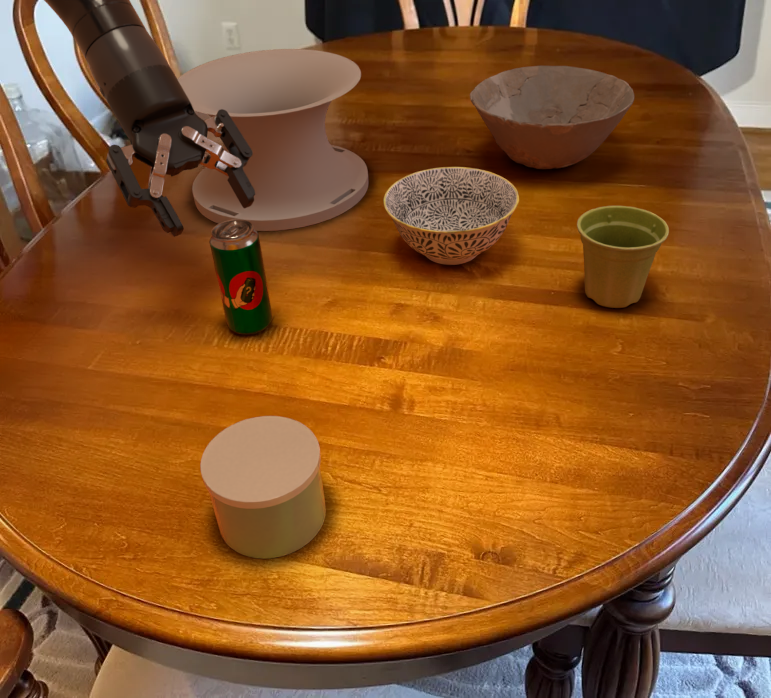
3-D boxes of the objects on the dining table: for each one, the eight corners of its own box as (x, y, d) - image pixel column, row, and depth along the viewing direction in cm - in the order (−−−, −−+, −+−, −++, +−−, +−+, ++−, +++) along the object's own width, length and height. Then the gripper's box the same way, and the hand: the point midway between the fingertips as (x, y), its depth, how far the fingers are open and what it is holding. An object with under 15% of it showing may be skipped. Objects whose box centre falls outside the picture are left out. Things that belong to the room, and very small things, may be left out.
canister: (222, 573, 63) (206, 514, 58) (210, 487, 70) (195, 430, 66) (339, 544, 64) (331, 484, 60) (316, 463, 72) (307, 405, 67)
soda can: (282, 317, 90) (267, 223, 82) (254, 342, 86) (236, 246, 79) (246, 306, 92) (228, 213, 84) (218, 329, 88) (197, 235, 81)
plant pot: (571, 268, 95) (578, 202, 89) (654, 274, 93) (666, 207, 87) (567, 313, 88) (575, 245, 82) (657, 321, 86) (671, 251, 80)
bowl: (488, 298, 91) (489, 240, 86) (364, 270, 97) (359, 214, 92) (533, 232, 102) (537, 178, 97) (419, 210, 108) (418, 158, 103)
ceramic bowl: (647, 143, 121) (657, 77, 115) (588, 207, 106) (596, 136, 100) (514, 117, 131) (517, 55, 125) (443, 173, 116) (442, 106, 110)
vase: (165, 224, 108) (137, 112, 99) (232, 147, 127) (214, 47, 118) (342, 237, 103) (331, 120, 94) (385, 154, 122) (380, 50, 113)
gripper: (77, 83, 77) (161, 229, 77) (206, 46, 84) (282, 180, 84) (71, 121, 83) (148, 256, 83) (190, 84, 90) (261, 209, 90)
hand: (215, 218), depth 84 cm, fingers open, 8 cm apart
